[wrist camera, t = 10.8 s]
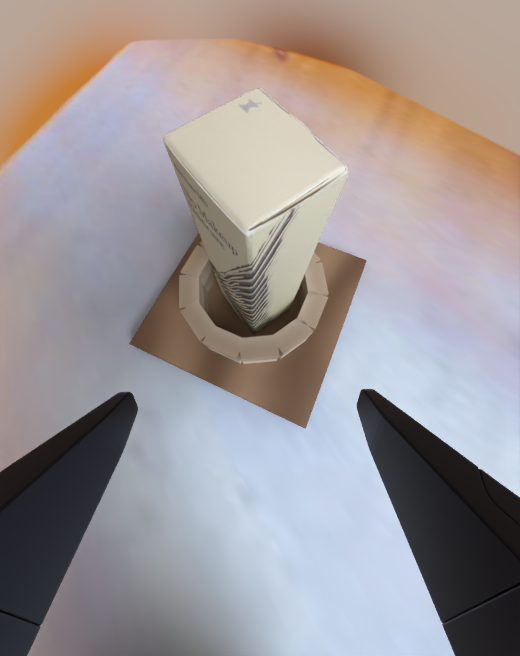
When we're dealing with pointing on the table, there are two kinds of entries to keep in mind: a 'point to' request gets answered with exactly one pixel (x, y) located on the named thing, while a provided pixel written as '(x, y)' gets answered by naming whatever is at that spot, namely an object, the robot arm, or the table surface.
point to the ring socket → (241, 344)
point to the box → (256, 199)
